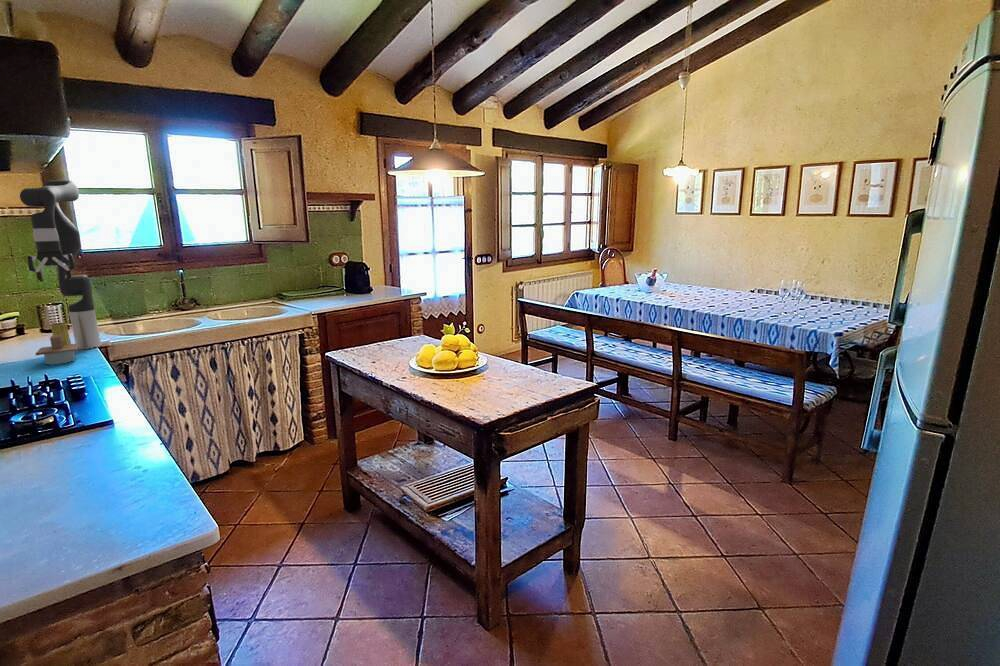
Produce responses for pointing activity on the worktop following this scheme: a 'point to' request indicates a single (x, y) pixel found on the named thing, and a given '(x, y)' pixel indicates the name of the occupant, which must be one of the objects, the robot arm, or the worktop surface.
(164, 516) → the worktop surface
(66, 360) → the bowl
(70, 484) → the worktop surface
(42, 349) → the lid
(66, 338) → the vase
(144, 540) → the worktop surface
